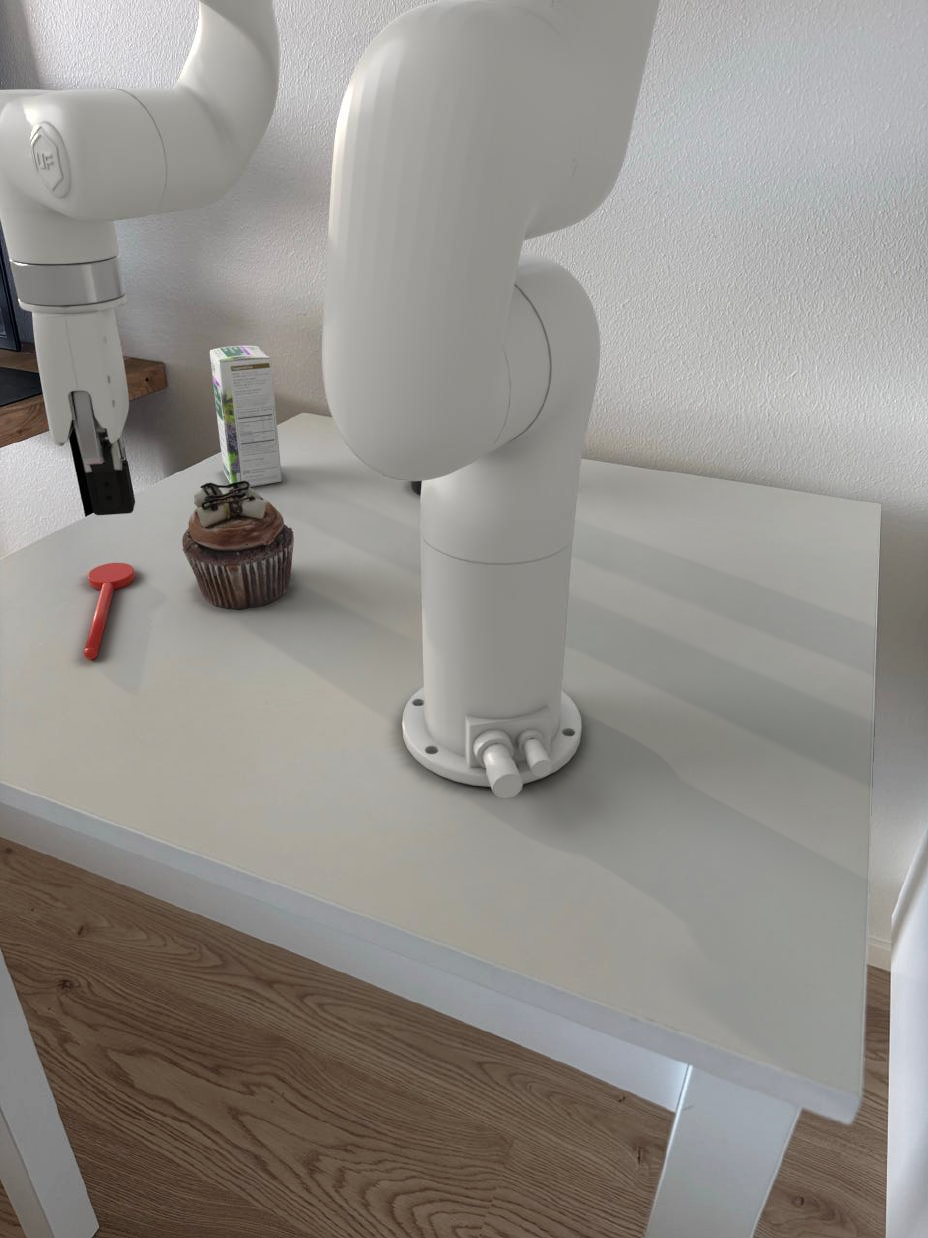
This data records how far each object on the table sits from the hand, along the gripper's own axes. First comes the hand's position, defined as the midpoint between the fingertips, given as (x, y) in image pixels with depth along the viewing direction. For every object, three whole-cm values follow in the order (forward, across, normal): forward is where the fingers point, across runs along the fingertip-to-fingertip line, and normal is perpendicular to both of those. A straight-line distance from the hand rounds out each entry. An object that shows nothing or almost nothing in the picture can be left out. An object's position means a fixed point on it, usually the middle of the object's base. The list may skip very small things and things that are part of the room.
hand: (115, 509), depth 76 cm
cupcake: (+8, 0, +10) cm, 13 cm away
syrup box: (+9, -27, +11) cm, 30 cm away
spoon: (+8, +1, -2) cm, 9 cm away
